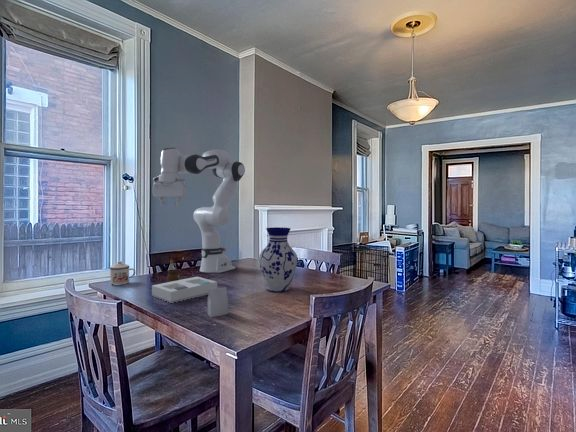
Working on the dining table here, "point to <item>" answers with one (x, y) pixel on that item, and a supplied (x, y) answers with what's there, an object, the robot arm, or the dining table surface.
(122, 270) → the teacup with lid
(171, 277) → the utensil holder
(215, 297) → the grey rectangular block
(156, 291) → the socket box
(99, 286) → the dining table surface
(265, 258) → the vase
